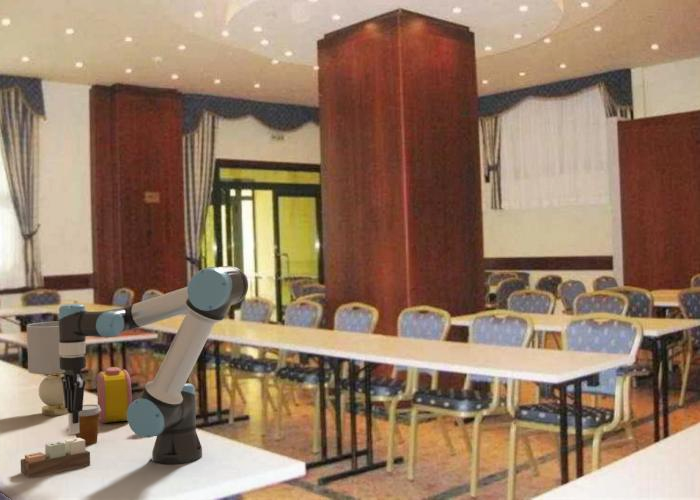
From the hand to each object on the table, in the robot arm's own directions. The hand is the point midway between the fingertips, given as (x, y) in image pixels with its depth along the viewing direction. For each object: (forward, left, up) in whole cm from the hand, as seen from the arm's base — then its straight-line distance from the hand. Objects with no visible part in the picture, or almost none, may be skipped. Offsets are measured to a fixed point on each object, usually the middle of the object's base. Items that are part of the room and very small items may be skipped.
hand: (74, 433), depth 238 cm
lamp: (+77, -23, -10) cm, 81 cm away
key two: (0, +6, -7) cm, 9 cm away
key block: (0, +6, -10) cm, 11 cm away
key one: (0, 0, -7) cm, 7 cm away
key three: (0, +12, -9) cm, 15 cm away
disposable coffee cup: (+23, -13, -10) cm, 28 cm away
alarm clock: (+48, -34, -10) cm, 59 cm away
